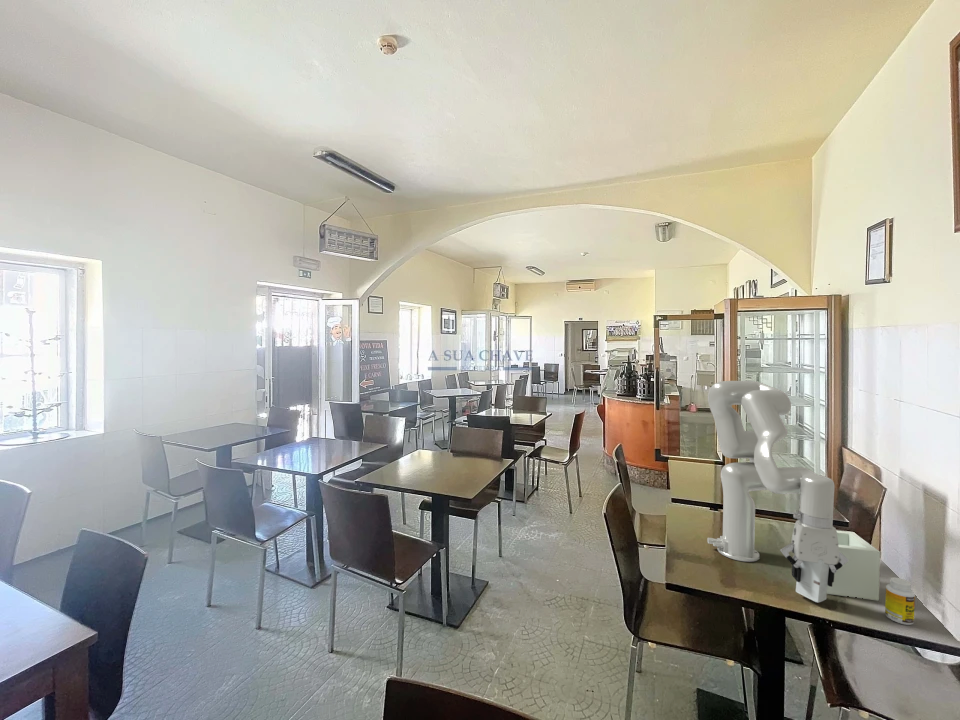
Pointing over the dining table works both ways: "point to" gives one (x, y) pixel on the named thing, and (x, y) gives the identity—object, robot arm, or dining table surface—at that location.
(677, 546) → the dining table surface
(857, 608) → the dining table surface
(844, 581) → the holder
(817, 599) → the skincare box
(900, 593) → the supplement bottle
